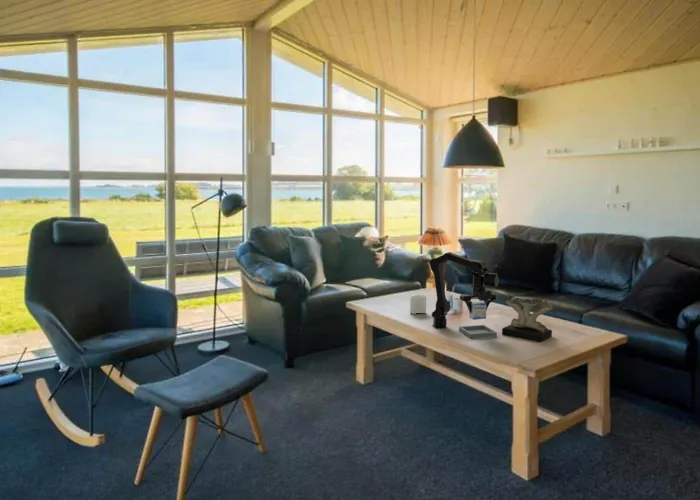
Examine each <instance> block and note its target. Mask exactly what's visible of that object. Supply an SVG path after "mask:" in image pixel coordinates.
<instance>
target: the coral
mask: <svg viewBox="0 0 700 500" xmlns="http://www.w3.org/2000/svg"><path fill="white" fill-rule="evenodd" d="M504 302H505V304H507V306H509V307H511V308H512V310H514V311H515V312H516V313H517V314H518V315H517V318H513V319H512V320H511V321H510V324H508V325H506V326H504V327H503V328H501V335H502V336H506V337H511V338H517V339H520V340H526V341H530V340H531V341H532V342H535V341H536V342H537V343H540V342H541V343H543V342H545V341H546V340H549V339H550V338H552V336H553V335H552V334H553V330H552V329H549V328H548V327H547V326H546V325H544V324H542V323H541V322H540V321H537V319H538V317H539V316H541V315H543V314H545V313H547V312H550V311H551V310H553V308H554V307H553V304H552V303H548V300H547V299H545V300H544V301H543V298H532V299H529V298H528V299H527V298H526V299H524V300H522V298H521V299H520V298H519V297H515V298H513V300H511V299H509V298H507V299H506V301H504ZM531 310H533V313H531ZM531 341H530V342H531Z"/></svg>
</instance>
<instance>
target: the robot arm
mask: <svg viewBox="0 0 700 500" xmlns="http://www.w3.org/2000/svg"><path fill="white" fill-rule="evenodd" d="M447 262H451V263H456V264H459V265H461V266H464V267H467V268H468V269H469V270H471V273H469V276H471V277H473V278H472V285H471V288H472V292H471V295H470V294H468V293H464V294H463V293H462V294H460V295H459V300H460V301H462V302H464V303H465V305H466V307H467V310H468V312H470V313H471V304H472V302H473V301H472V300H478V301H479V302H485V303H486V311H487V310H488V308H489V306H490V304H491V303H492V302H494V301H497V295H496V294H495V293H493V291H492V290H487V291H486V286H489V287H496V288H497V287H498V286H499V284H500V278H499V276H498V273H497V272H496V273H493V272H492V273H491V272H490V270H489V269H488V267H487V265H486V262H485V261H484V260H481V259H470V258H467V257H465V256H462V255H458V254H456V253H453V252H451V251H449V252H445V253H443V254H442V255H440V256H438V257H434V258H431V259H430V260H429V266H430V270H431V272H432V274H433V277H434V284H435V293H436V303H435V310H434V311H432V313H431V316H432V318H433V324H432V326H433V327H434V328H435V329H445V328H446V329H447V328H448V327H447V317H446V316H447V315H448V313H449V312H450V311H451V308H452V306H451V301H450V300H448V299H447V297H446V289H445V282H444V275H443V273H444V270H445V263H447Z"/></svg>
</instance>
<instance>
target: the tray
mask: <svg viewBox="0 0 700 500" xmlns="http://www.w3.org/2000/svg"><path fill="white" fill-rule="evenodd" d="M458 332H460V333H461V334H463V335H464V336H466V337H467V338H468V339H471V340H472V339H484V338H496V337H497V336H498V332H497V331H495V330H494V329H492V328H490V327H489V326H487V325H485V324H478V325H477V324H476V325H465V326H459V325H458Z"/></svg>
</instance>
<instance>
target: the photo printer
mask: <svg viewBox="0 0 700 500" xmlns="http://www.w3.org/2000/svg"><path fill="white" fill-rule="evenodd" d="M409 304H410V305H409V314H410V313H412V314H411V315H417V314H416V313H426V314H427V296H426V295H425V294H423V293H416V294H412V295H410V297H409Z"/></svg>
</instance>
